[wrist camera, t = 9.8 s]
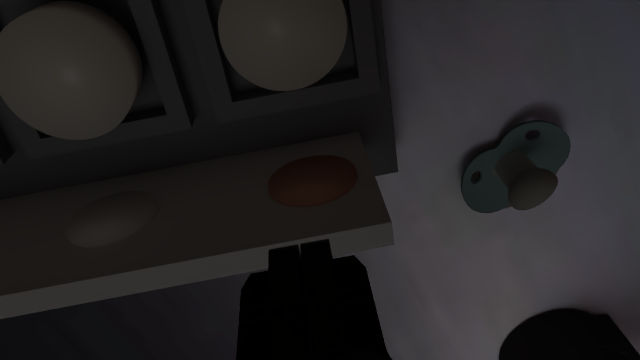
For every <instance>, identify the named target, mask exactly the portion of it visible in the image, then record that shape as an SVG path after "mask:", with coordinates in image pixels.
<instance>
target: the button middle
mask: <svg viewBox="0 0 640 360" xmlns="http://www.w3.org/2000/svg"><path fill="white" fill-rule="evenodd" d="M142 79H143V68H142V61H141V57H140V54H139V51H138V49H137V47H136V45H135V43H134V41H133V39H132V38H131V36H130V35H129V34H128V32H127V31H126V30H125V29H124V28H123V27H122V25H121V24H120V23H118V22H117V21H116V20H115V19H114V18H113V17H111V16H110V15H108V14H107V13H105V12H103V11H102V10H100V9H98V8H96V7H93V6H91V5H88V4H85V3H81V2H76V1H61V0H60V1H52V2H48V3H44V4H42V5H39V6H37V7H35V8H33V9H32V10H30V11H28V12H26V13H25V14H23V15H21V16H19V17H18V18H16V19H15V20H13V21H11V22H10V23H9V24H8V25H7V26H6V27H5V28H4V29H3V30H2V31H1V33H0V95H1V97H2V99H3V100H4V102H5V103H6V104H7V106H8V107H9V108H10V109H11V110H12V111H13V112H14V113H15V114H16V115H17V116H18V117H19V118H20V119H21V120H23V121H24V122H25V123H27V124H28V125H30V126H31V127H33V128H35V129H37V130H38V131H41V132H43V133H45V134H48V135H51V136H54V137H58V138H62V139H70V140H84V139H91V138H95V137H99V136H101V135H104V134H106V133H108V132H109V131H111V130H113V129H114V128H115V127H116V126H118V125H119V124H120V123H121V122H122V121H123V119H124V118H125V116H126V115H127V114H128V112H129V110H130V108H131V107H132V105H133V103H134V101H135V100H136V98H137V96H138V94H139V92H140V88H141V85H142Z"/></svg>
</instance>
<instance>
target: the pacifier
mask: <svg viewBox="0 0 640 360" xmlns="http://www.w3.org/2000/svg"><path fill="white" fill-rule="evenodd" d="M531 130H537V131H538V134H537V136H535V137H533V138H525V135H526V133H527V132H529V131H531ZM569 152H570V140H569V137H568V135H567V134H566V132H565V131H563V130H562V129H561V128H560V127H559V126H557V125H555V124H553V123H550V122H547V121H540V120H534V121H527V122H524V123H521V124H518V125H516V126H515V127H513V128H511V129H510V130H509V131H508V132H506V134H505V135H504V136H503V137H502V138H501V140H500V142H499V143H498V145H496V146H495V147H493V148H490V149H487V150H484V151H482V152H480V153H479V154H477V155H476V156H474V157H473V158H472V159H471V160H470V161H469V163H468V164H467V166H466V167H465V169H464V171H463V174H462V178H461V192H462V195H463V198H464V200H465V202H466V203H467V205H468V206H469V207H470V208H471V209H473V210H474V211H477V212H480V213H492V212H496V211H499V210H501V209H504V208H508V207H511V206H512V207H513V208H515V209H517V210H527V209H531V208H533V207H536V206H537V205H539V204H541V203H542V202H544V201H545V200H546V199H548V198H549V197H550V196H551V194H552V193H553V192H554V190H555V189H556V187H557V184H558V179H557V177H556V175H555V174H556V173H557V171H558V170H559V168H560V167H561V166H562V165H563V164H564V163H565V161H566V159H567V158H568V155H569ZM476 171H480V177H479V179H478V180H477V181H475V182H471V177H472V175H473V173H474V172H476Z"/></svg>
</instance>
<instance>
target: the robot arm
mask: <svg viewBox="0 0 640 360" xmlns="http://www.w3.org/2000/svg"><path fill="white" fill-rule="evenodd" d="M300 250H301V253H300ZM236 360H392V359H391V357H390V356H389V354H388V352H387V350H386V347H385V343H384V339H383V335H382V331H381V327H380V323H379V319H378V314H377V310H376V306H375V302H374V299H373V294H372V290H371V286H370V282H369V278H368V274H367V270H366V267H365V266H364V265H363V264H362V263H361V262H360V261H359V260H358V259H357V258H356V257H355V256H354V255H352V256H347V257H341V258H336V259H333V257H332V252H331V247H330V241H329V239H324V240H318V241H313V242H307V243H301V244H300V249H299V246H298V244H296V245H291V246H285V247H280V248H274V249H269V251H268V271H264V272H258V273H252V274H250V276H249V277H248V279H247V281H246V282H245V284H244V286H243V288H242V289H241V298H240V312H239V326H238V340H237V355H236ZM499 360H640V355H639V353H638V352H637V351H636V349H635V348H634V347H633V346H632V344H631V343H630V342H629V340H628V339H627V338H626V337H625V335H624V334H623V333H622V331H621V330H620V329H619V328H618V326H617V325H616V324H615V323H614V321H613V320H612V319H611V317H610V316H609V315H608V314H605V315H598V316H595V315H592V314H589V313H587V312H584V311H579V310H559V311H553V312H549V313H546V314H543V315H540V316H537V317H535V318H533V319H531V320H529V321H527V322H526V323H524V324H523V325H521V326H520V327H518V328H517V329H516V330H515V331H514V332H513V333H512V334H511V335H510V336H509V337H508V339H507V340H506V341H505V343H504V344H503V347H502V349H501V351H500V356H499Z"/></svg>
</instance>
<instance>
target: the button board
mask: <svg viewBox="0 0 640 360" xmlns="http://www.w3.org/2000/svg"><path fill="white" fill-rule="evenodd" d="M52 1H60V0H0V33H1V31H2V30H3V29H4V28H5V27H6V26H7V25H8V24H9V23H10V22H11V21H13V20H15V19H16V18H18V17H19V16H21V15H23V14H25V13H26V12H28V11H30V10H32V9H33V8H35V7H37V6H39V5H42V4H44V3H48V2H52ZM61 1H76V2H81V3H85V4H88V5H91V6H93V7H96V8H98V9H100V10H102V11H103V12H105V13H107V14H108V15H110V16H111V17H113V18H114V19H115V20H116V21H117V22H118V23H120V24H121V25H122V27H123V28H124V29H125V30H126V31H127V32H128V34H129V35H130V36H131V38H132V39H133V41H134V43H135V45H136V47H137V49H138V51H139V54H140V57H141V61H142V68H143V79H142V85H141V88H140V92H139V94H138V96H137V98H136V100H135V101H134V103H133V105H132V107H131V108H130V110H129V112H128V114H127V115H126V116H125V118H124V119H123V121H122V122H121V123H120V124H119V125H118V126H116V127H115V128H114V129H113V130H111V131H109V132H108V133H106V134H104V135H101V136H99V137H95V138H91V139H84V140H70V139H62V138H58V137H54V136H51V135H48V134H45V133H43V132H41V131H38V130H37V129H35V128H33V127H31V126H30V125H28V124H27V123H25V122H24V121H23V120H21V119H20V118H19V117H18V116H17V115H16V114H15V113H14V112H13V111H12V110H11V109H10V108H9V107H8V106H7V104H6V103H5V102H4V100H3V99H2V97H1V95H0V319H3V318H8V317H13V316H19V315H24V314H29V313H35V312H40V311H45V310H50V309H56V308H61V307H66V306H72V305H77V304H82V303H87V302H93V301H98V300H103V299H109V298H114V297H119V296H124V295H130V294H135V293H140V292H146V291H151V290H156V289H161V288H167V287H172V286H177V285H183V284H188V283H193V282H199V281H204V280H209V279H214V278H220V277H225V276H230V275H236V274H241V273H246V272H251V271H257V270H262V269H267V268H268V251H269V249H274V248H280V247H285V246H291V245H296V244H298V246H299V249H300V244H301V243H307V242H313V241H318V240H324V239H329V241H330V247H331V252H332V256H336V255H341V254H347V253H352V252H357V251H362V250H368V249H373V248H378V247H384V246H389V245H394V239H393V230H392V222H391V219H390V216H389V214H388V211H387V208H386V206H385V203H384V200H383V197H382V195H381V192H380V189H379V186H378V184H377V181H376V178H375V176H378V175H383V174H389V173H394V172H398V166H397V156H396V146H395V137H394V127H393V117H392V107H391V98H390V88H389V78H388V69H387V59H386V49H385V39H384V30H383V20H382V10H381V1H380V0H342V3H343V5H344V8H345V12H346V17H347V36H346V41H345V45H344V48H343V51H342V53H341V55H340V57H339V59H338V61H337V62H336V64H335V65H334V67H333V68H332V69H331V70H330V71H329V72H328V73H327V74H326V75H325V76H324V77H323V78H321V79H320V80H319V81H317V82H315V83H313V84H312V85H309V86H307V87H304V88H301V89H297V90H291V91H276V90H270V89H266V88H262V87H260V86H257V85H255V84H253V83H251V82H250V81H248V80H247V79H245V78H244V77H242V76H241V75H240V74H239V73H238V72H237V71H236V70H235V69H234V67H233V66H232V65H231V64H230V62H229V61H228V59H227V58H226V55H225V53H224V51H223V49H222V46H221V43H220V38H219V33H218V18H219V12H220V7H221V4H222V1H223V0H61ZM300 253H301V250H300Z"/></svg>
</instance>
